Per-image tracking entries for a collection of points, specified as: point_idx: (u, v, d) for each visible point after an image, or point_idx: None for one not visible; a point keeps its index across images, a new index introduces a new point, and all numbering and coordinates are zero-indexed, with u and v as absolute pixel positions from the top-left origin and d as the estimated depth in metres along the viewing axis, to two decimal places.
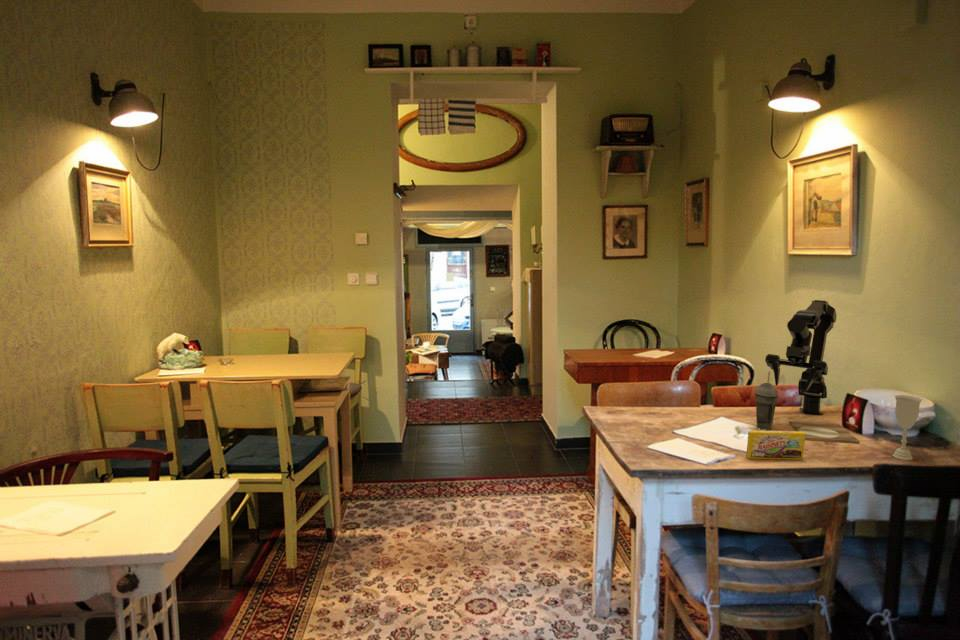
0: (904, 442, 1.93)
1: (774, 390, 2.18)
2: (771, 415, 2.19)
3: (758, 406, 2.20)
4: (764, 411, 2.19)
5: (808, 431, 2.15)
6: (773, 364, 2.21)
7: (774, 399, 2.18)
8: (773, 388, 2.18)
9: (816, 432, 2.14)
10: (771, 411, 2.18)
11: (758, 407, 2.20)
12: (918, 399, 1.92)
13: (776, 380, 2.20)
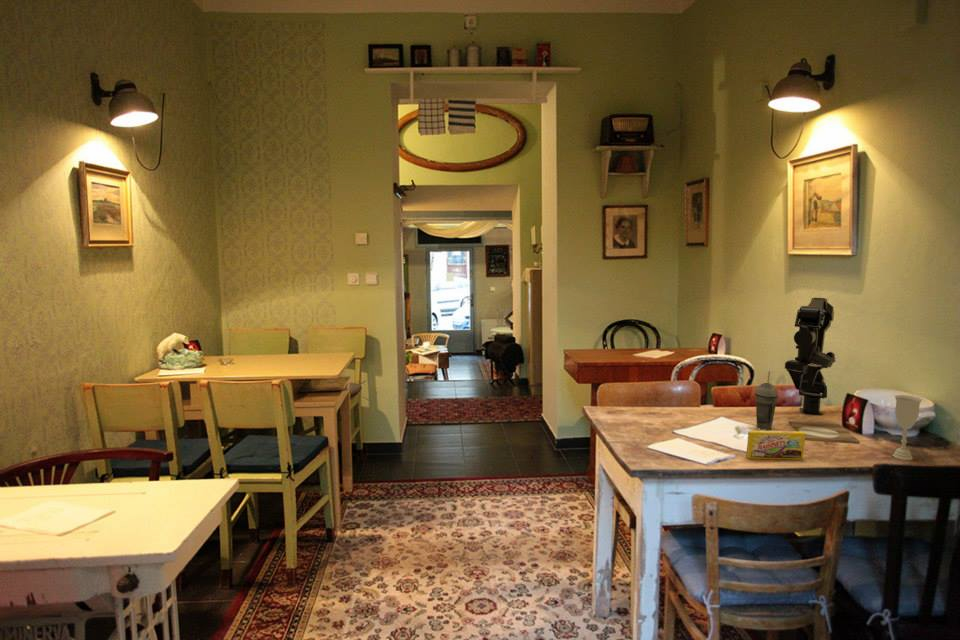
0: (904, 442, 1.93)
1: (774, 390, 2.18)
2: (771, 415, 2.19)
3: (758, 406, 2.20)
4: (764, 411, 2.19)
5: (808, 431, 2.15)
6: (804, 373, 2.19)
7: (774, 399, 2.18)
8: (773, 388, 2.18)
9: (816, 432, 2.14)
10: (771, 411, 2.18)
11: (758, 407, 2.20)
12: (918, 399, 1.92)
13: (800, 385, 2.22)
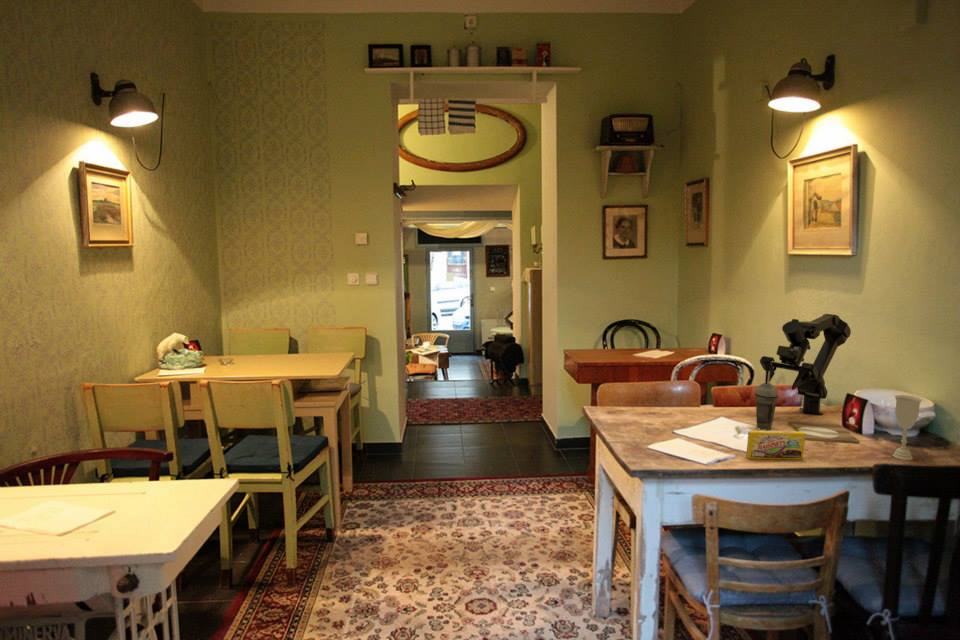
0: (904, 442, 1.93)
1: (774, 390, 2.18)
2: (771, 415, 2.19)
3: (758, 406, 2.20)
4: (764, 411, 2.19)
5: (808, 431, 2.15)
6: (766, 364, 2.31)
7: (774, 399, 2.18)
8: (773, 388, 2.18)
9: (816, 432, 2.14)
10: (771, 411, 2.18)
11: (758, 407, 2.20)
12: (918, 399, 1.92)
13: (766, 379, 2.29)
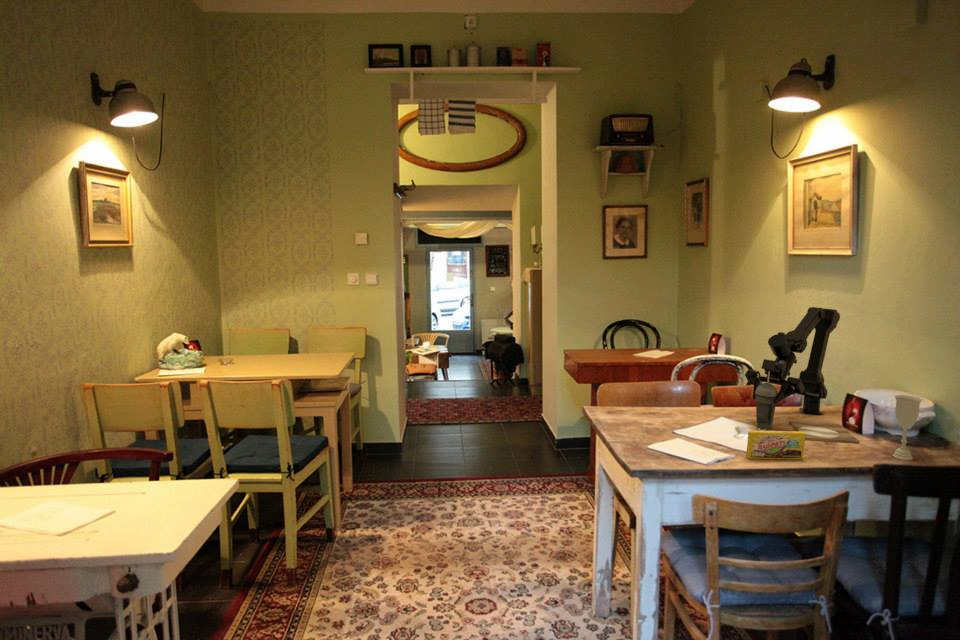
0: (904, 442, 1.93)
1: (774, 390, 2.18)
2: (771, 415, 2.19)
3: (758, 406, 2.20)
4: (764, 411, 2.19)
5: (808, 431, 2.15)
6: (753, 379, 2.25)
7: (774, 399, 2.18)
8: (773, 388, 2.18)
9: (816, 432, 2.14)
10: (771, 411, 2.18)
11: (758, 407, 2.20)
12: (918, 399, 1.92)
13: (754, 394, 2.23)
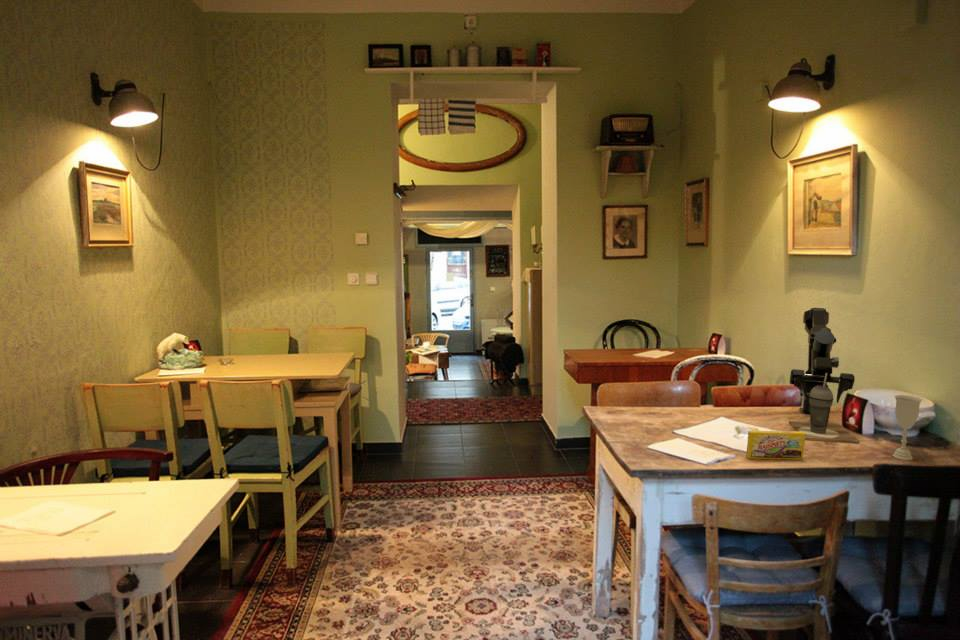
0: (904, 442, 1.93)
1: (831, 392, 2.12)
2: (828, 418, 2.13)
3: (817, 410, 2.12)
4: (824, 415, 2.11)
5: (808, 431, 2.15)
6: (800, 378, 2.16)
7: (832, 401, 2.12)
8: (830, 390, 2.12)
9: None
10: None
11: (817, 411, 2.12)
12: (918, 399, 1.92)
13: (805, 394, 2.14)
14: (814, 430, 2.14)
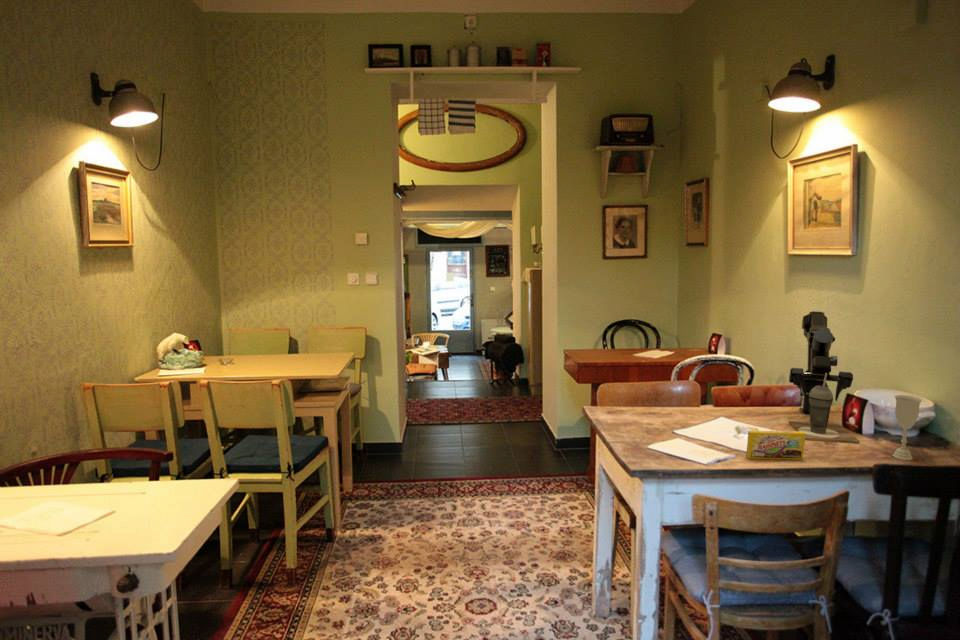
0: (904, 442, 1.93)
1: (831, 392, 2.12)
2: (828, 418, 2.13)
3: (817, 410, 2.12)
4: (824, 415, 2.11)
5: (808, 431, 2.15)
6: (800, 376, 2.20)
7: (832, 401, 2.12)
8: (830, 390, 2.12)
9: None
10: None
11: (816, 411, 2.12)
12: (918, 399, 1.92)
13: (805, 392, 2.18)
14: (814, 430, 2.14)
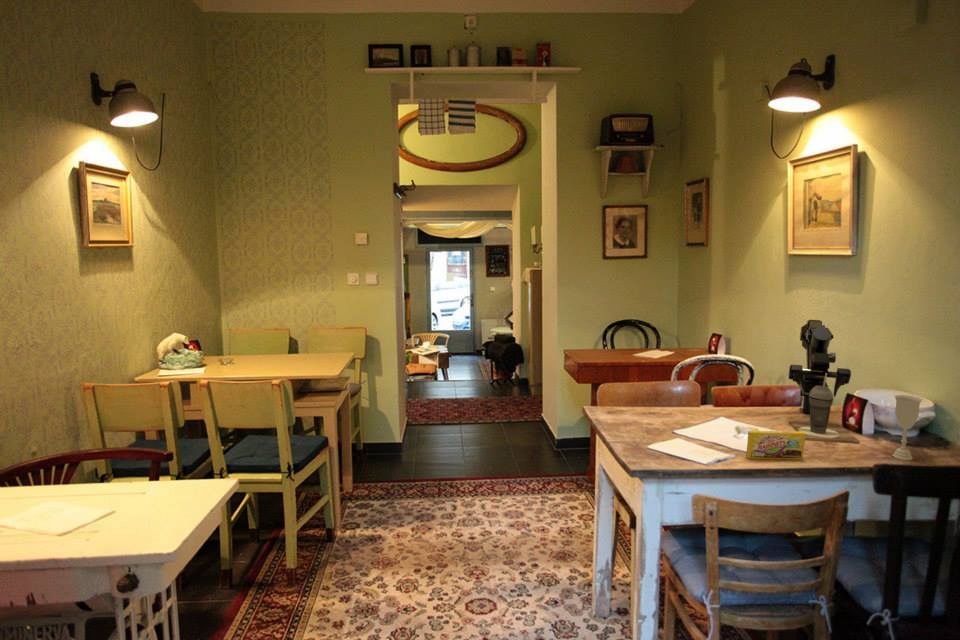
0: (904, 442, 1.93)
1: (831, 392, 2.12)
2: (828, 418, 2.13)
3: (817, 410, 2.12)
4: (824, 415, 2.11)
5: (808, 431, 2.15)
6: (799, 373, 2.24)
7: (832, 401, 2.12)
8: (830, 390, 2.12)
9: None
10: None
11: (817, 411, 2.12)
12: (918, 399, 1.92)
13: (804, 388, 2.22)
14: (814, 430, 2.14)
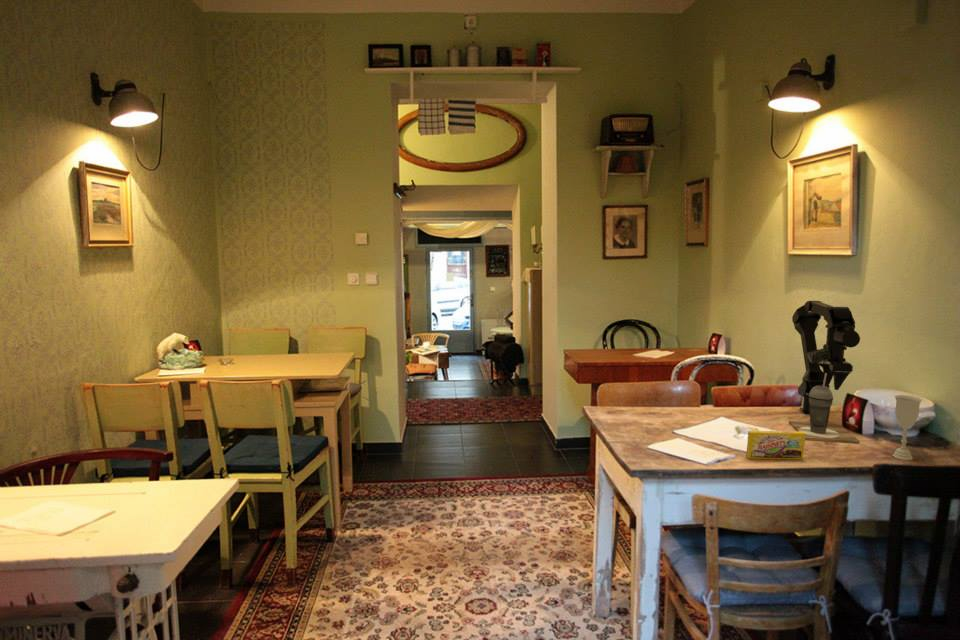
0: (904, 442, 1.93)
1: (831, 392, 2.12)
2: (828, 418, 2.13)
3: (816, 410, 2.12)
4: (823, 414, 2.11)
5: (808, 431, 2.15)
6: (819, 365, 2.33)
7: None
8: (830, 390, 2.12)
9: None
10: (828, 414, 2.12)
11: (816, 411, 2.12)
12: (918, 399, 1.92)
13: None
14: (814, 430, 2.14)
